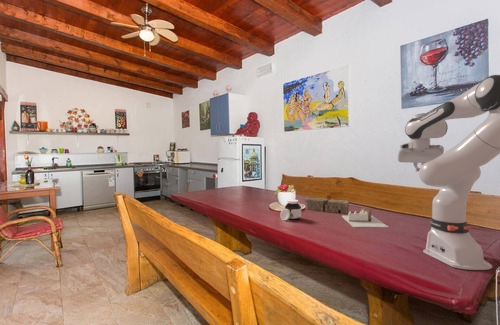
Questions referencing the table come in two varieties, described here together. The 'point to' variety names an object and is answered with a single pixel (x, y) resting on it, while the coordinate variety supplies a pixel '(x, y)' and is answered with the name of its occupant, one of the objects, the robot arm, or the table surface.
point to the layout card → (366, 223)
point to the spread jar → (291, 210)
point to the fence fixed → (368, 213)
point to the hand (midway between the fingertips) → (419, 171)
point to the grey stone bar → (327, 205)
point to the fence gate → (358, 216)
